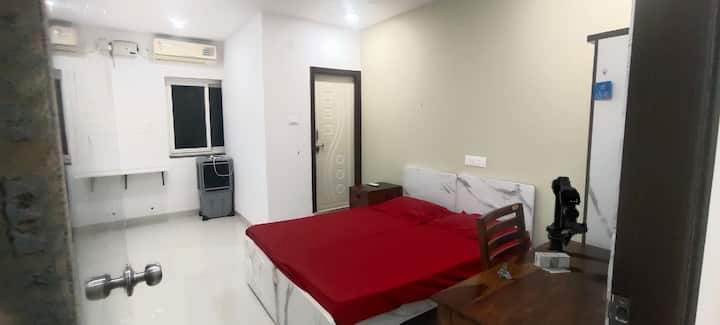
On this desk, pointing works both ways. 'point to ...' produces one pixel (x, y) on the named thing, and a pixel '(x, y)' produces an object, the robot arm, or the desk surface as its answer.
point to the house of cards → (504, 272)
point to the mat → (555, 269)
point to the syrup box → (552, 260)
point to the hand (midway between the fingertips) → (565, 246)
